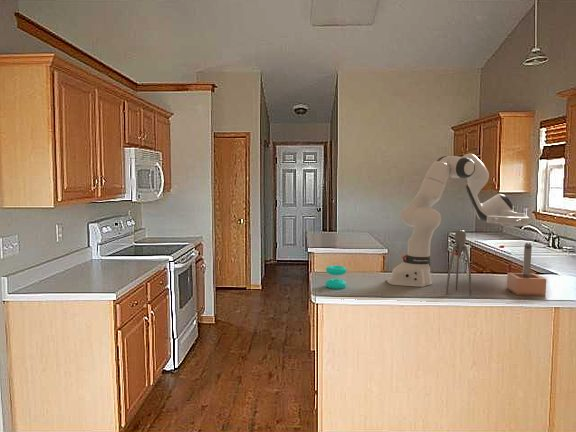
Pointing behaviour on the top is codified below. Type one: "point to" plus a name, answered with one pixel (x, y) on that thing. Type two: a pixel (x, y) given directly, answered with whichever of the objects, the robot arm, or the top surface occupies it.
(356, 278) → the top surface
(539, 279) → the orange open box
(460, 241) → the juicer
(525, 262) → the pepper mill
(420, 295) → the top surface
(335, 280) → the donuts
